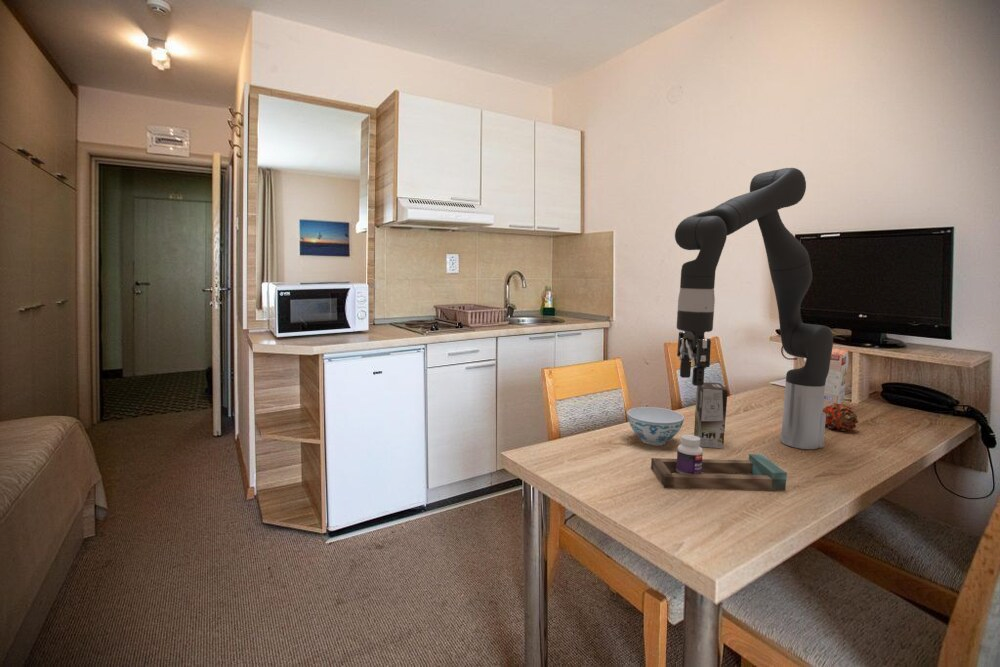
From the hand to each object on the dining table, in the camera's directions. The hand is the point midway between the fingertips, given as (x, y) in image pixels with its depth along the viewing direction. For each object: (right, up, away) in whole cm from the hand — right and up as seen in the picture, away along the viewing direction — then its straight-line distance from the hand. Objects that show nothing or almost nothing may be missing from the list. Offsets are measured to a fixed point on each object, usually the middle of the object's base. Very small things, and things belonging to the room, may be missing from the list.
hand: (691, 381), depth 113 cm
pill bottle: (0, -23, +2) cm, 23 cm away
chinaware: (0, -20, +27) cm, 33 cm away
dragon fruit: (+59, -18, +40) cm, 74 cm away
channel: (+6, -23, +2) cm, 23 cm away
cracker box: (+71, -16, +60) cm, 94 cm away
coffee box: (+15, -20, +27) cm, 36 cm away
